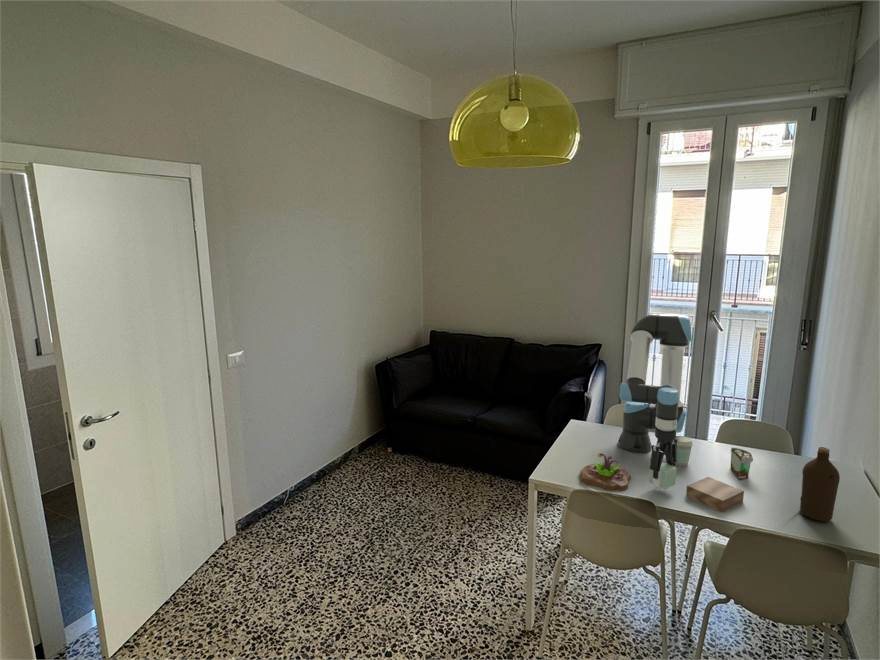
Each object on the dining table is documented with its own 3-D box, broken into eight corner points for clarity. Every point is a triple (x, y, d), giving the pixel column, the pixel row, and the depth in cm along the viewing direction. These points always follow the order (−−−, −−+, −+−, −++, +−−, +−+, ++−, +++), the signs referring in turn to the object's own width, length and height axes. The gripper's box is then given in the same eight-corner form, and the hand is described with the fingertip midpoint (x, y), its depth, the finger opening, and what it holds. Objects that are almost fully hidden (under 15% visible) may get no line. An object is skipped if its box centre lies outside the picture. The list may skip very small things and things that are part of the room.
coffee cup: (674, 458, 229) (676, 433, 227) (694, 464, 223) (696, 438, 221) (666, 464, 223) (668, 438, 221) (686, 470, 217) (688, 444, 215)
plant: (586, 465, 224) (587, 441, 222) (632, 474, 215) (634, 449, 213) (575, 484, 206) (576, 458, 204) (625, 494, 197) (627, 468, 195)
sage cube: (648, 482, 199) (649, 466, 198) (659, 477, 203) (660, 461, 202) (664, 489, 194) (666, 472, 192) (675, 484, 198) (676, 467, 196)
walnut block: (686, 497, 195) (686, 485, 194) (707, 488, 202) (708, 476, 201) (721, 513, 183) (723, 500, 182) (742, 503, 190) (744, 490, 189)
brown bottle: (840, 517, 179) (849, 451, 175) (824, 525, 174) (833, 457, 170) (807, 504, 188) (815, 440, 184) (791, 511, 183) (799, 446, 179)
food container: (756, 482, 205) (758, 459, 204) (739, 481, 207) (742, 458, 205) (744, 469, 217) (746, 447, 216) (729, 468, 219) (731, 446, 217)
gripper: (659, 436, 186) (655, 494, 190) (689, 425, 197) (685, 479, 201) (641, 430, 192) (638, 486, 196) (671, 419, 203) (667, 472, 207)
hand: (662, 482), depth 198 cm, fingers closed on sage cube, 7 cm apart
